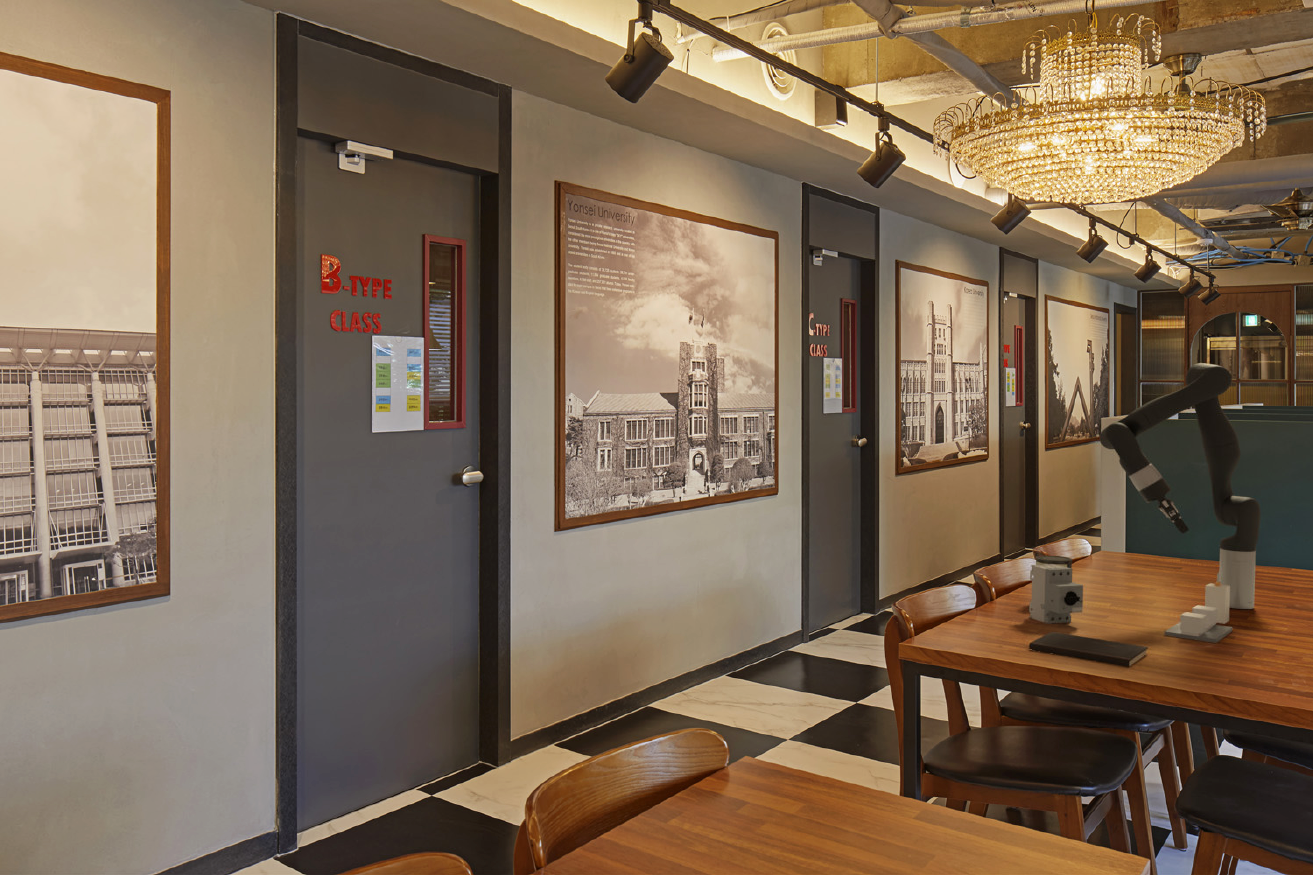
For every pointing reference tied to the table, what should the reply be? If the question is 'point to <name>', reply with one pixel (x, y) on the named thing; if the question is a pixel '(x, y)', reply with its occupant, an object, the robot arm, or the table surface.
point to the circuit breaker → (1054, 594)
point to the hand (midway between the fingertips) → (1184, 530)
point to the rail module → (1218, 600)
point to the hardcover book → (1089, 649)
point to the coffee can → (1054, 561)
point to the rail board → (1205, 637)
